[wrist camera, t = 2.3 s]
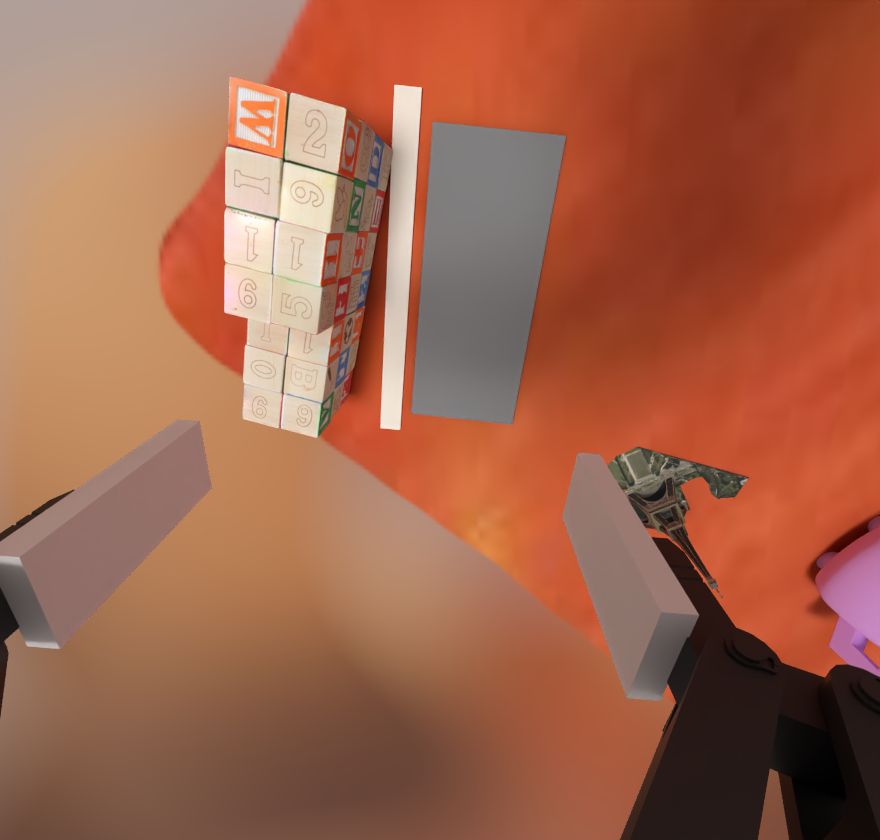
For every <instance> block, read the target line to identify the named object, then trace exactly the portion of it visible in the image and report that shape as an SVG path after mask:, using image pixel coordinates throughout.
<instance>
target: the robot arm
mask: <svg viewBox="0 0 880 840" xmlns="http://www.w3.org/2000/svg"><path fill="white" fill-rule="evenodd" d="M211 488H212V487H211V481H210V476H209V470H208V465H207V460H206V454H205V449H204V443H203V437H202V432H201V426H200V422H199V421H189V420H176V421H175V422H173V423H172V424H171V425H169V426H167V427H166V428H165V429H164V430H162V431H160V432H159V433H157V434H156V435H154V436H153V437H152V438H150V439H149V440H147V441H146V442H144V443H143V444H141V445H140V446H138V447H137V448H136V449H134V450H133V451H131V452H130V453H128V454H127V455H125V456H124V457H123V458H121V459H120V460H118V461H117V462H115V463H114V464H112V465H111V466H109V467H108V468H106V469H105V470H104V471H102V472H101V473H99V474H98V475H96V476H95V477H93V478H92V479H91V480H89V481H88V482H86V483H85V484H83V485H82V486H81V487H79V488H78V489H76V490H72V491H70V492H67V493H65V494H63V495H60V496H58V497H56V498H54V499H51V500H49V501H48V502H46V503H45V504H43V505H42V506H41V507H39V508H38V509H36V510H35V511H33V512H32V514H31V515H27V516H26V517H24V518H23V519H21V520H20V521H18V522H17V523H16V525H15V526H14V525H12V526H11V527H9V528H8V529H6V530H5V531H3V532H2V533H0V716H1V708H2V699H3V692H4V684H5V676H6V668H7V661H8V649H7V646H6V644H5V642H4V641H5V640H6V639H7V638H8V637H9V636H10V635H11V634H12V633H13V632H15V631H16V630H17V629H18V628H19V630H20V632H21V634H22V636H23V638H24V641H25V642H26V645H27V646H32V647H43V648H55V649H60V648H61V647H62V646H63V645H64V644H65V643H66V642H67V641H68V640H69V639H70V638H71V637H72V636H73V635H74V634H75V633H76V632H77V630H78V629H79V628H80V627H81V626H82V625H83V624H84V623H85V622H86V621H87V620H88V619H89V618H90V617H91V616H92V614H93V613H94V612H95V611H96V610H97V609H98V608H99V607H100V606H101V605H102V604H103V603H104V602H105V601H106V600H107V599H108V598H109V597H110V595H111V594H112V593H113V592H114V591H115V590H116V589H117V588H118V587H119V586H120V585H121V584H122V582H124V581H125V579H126V578H127V577H128V576H129V575H130V574H131V573H132V572H133V571H134V570H135V569H136V568H137V567H138V566H139V565H140V564H141V563H142V562H143V560H144V559H145V558H146V557H147V556H148V555H149V554H150V553H151V552H152V551H153V550H154V549H155V548H156V547H157V546H158V544H159V543H160V542H161V541H162V540H163V539H164V538H165V537H166V536H167V535H168V534H169V533H170V532H171V531H172V530H173V529H174V528H175V526H176V525H177V524H178V523H179V522H180V521H181V520H182V519H183V518H184V517H185V516H186V515H187V513H189V512H190V511H191V509H192V508H193V507H194V506H195V505H196V504H197V503H198V502H199V501H200V500H201V499H202V498H203V497H204V496H205V495H206V494H207V493H208V491H209V490H210V489H211ZM562 518H563V520H564V523H565V526H566V529H567V532H568V535H569V537H570V540H571V543H572V546H573V549H574V551H575V554H576V557H577V560H578V563H579V565H580V568H581V571H582V574H583V577H584V580H585V582H586V585H587V588H588V591H589V594H590V596H591V599H592V602H593V605H594V608H595V611H596V613H597V616H598V619H599V622H600V625H601V627H602V630H603V633H604V636H605V639H606V642H607V644H608V647H609V650H610V653H611V656H612V658H613V661H614V664H615V667H616V670H617V672H618V675H619V678H620V681H621V684H622V687H623V689H624V692H625V695H626V698H632V699H644V700H655V701H660V700H661V698H662V695H663V693H664V691H665V689H666V687H667V685H669V687H670V689H671V692H672V694H673V696H674V698H675V700H676V704H675V706H674V708H673V710H672V712H671V714H670V716H669V718H668V720H667V722H666V724H665V726H664V729H663V734H662V737H661V740H660V742H659V744H658V747H657V749H656V752H655V754H654V757H653V759H652V762H651V765H650V767H649V769H648V772H647V774H646V777H645V779H644V782H643V784H642V787H641V789H640V791H639V794H638V796H637V799H636V801H635V804H634V806H633V809H632V811H631V814H630V816H629V819H628V821H627V823H626V826H625V828H624V831H623V833H622V836H621V838H620V840H758V835H759V829H760V823H761V817H762V811H763V805H764V799H765V792H766V787H767V781H768V775H769V769H773V770H775V771H778V774H779V780H780V786H781V792H782V799H783V805H784V810H785V817H786V823H787V829H788V835H789V840H880V677H879V676H877V675H875V674H873V673H871V672H869V671H867V670H865V669H862V668H859V667H855V666H852V665H848V664H847V665H836V666H835V667H833V668H832V669H831V670H830V671H829V673H828V674H827V676H826V677H825V678H824V677H821V676H818V675H816V674H813V673H810V672H807V671H804V670H801V669H798V668H795V667H792V666H789V665H786V664H784V663H782V662H781V661H780V659H779V658H778V656H777V654H776V653H775V652H774V651H773V650H772V649H770V648H769V647H768V646H767V645H766V644H765V643H764V642H763V641H761V640H760V639H758V638H757V637H755V636H754V635H752V634H750V633H748V632H745V631H743V630H741V629H738V628H736V627H735V625H734V624H733V623H732V621H731V620H730V618H729V617H728V615H727V614H726V612H725V611H724V610H723V608H722V607H721V605H720V604H719V602H718V601H717V599H716V598H715V596H714V595H713V594H712V592H711V591H710V589H709V588H708V586H707V585H706V583H704V582H703V579H702V578H701V576H700V575H699V573H698V572H697V570H694V566H693V565H692V563H691V562H690V560H689V559H688V557H687V556H686V554H685V553H684V552H683V551H682V550H681V549H680V548H678V547H677V546H676V545H675V544H674V543H672V542H671V541H670V540H669V539H667V538H655V537H651V536H650V535H649V533H648V531H647V530H646V528H645V526H644V525H643V523H642V522H641V520H640V518H639V517H638V515H637V513H636V512H635V510H634V509H633V507H632V505H631V504H630V502H629V501H628V499H627V497H626V496H625V494H624V492H623V491H622V489H621V488H620V486H619V484H618V483H617V481H616V479H615V478H614V476H613V475H612V473H611V471H610V470H609V468H608V467H607V465H606V463H605V462H604V460H603V458H602V457H601V455H600V454H589V453H578V454H577V458H576V462H575V467H574V471H573V475H572V479H571V483H570V488H569V492H568V496H567V500H566V504H565V509H564V513H563V517H562Z"/></svg>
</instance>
